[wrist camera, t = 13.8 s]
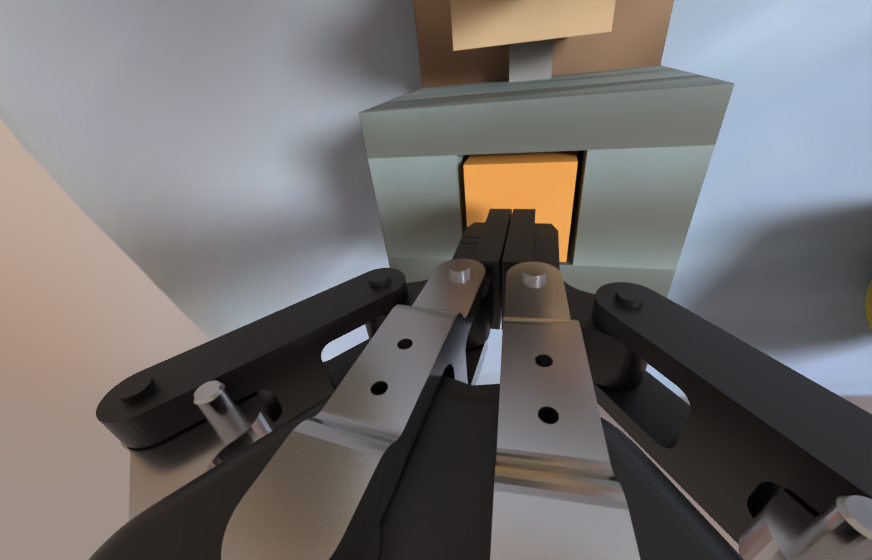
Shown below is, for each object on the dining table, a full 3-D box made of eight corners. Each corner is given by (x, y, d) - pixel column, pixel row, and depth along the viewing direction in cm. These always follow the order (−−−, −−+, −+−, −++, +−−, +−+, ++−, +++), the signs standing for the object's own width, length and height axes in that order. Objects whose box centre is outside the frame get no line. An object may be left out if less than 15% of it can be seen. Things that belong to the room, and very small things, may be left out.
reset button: (476, 145, 15) (463, 165, 13) (573, 141, 14) (577, 161, 12) (479, 228, 18) (468, 257, 15) (563, 230, 17) (566, 261, 14)
